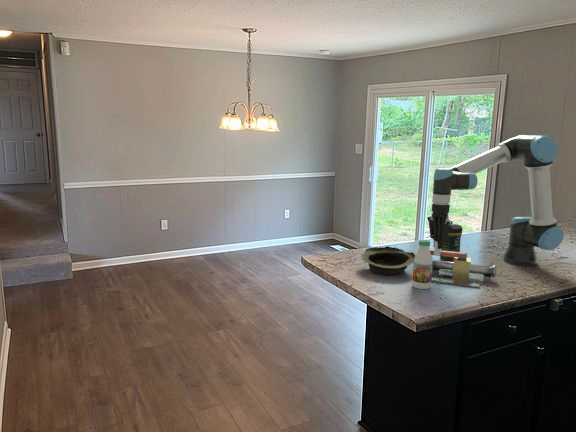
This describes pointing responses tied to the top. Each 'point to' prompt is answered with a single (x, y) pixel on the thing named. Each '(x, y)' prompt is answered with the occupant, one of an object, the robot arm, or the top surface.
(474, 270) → the pipe run
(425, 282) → the milk bottle
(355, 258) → the top surface
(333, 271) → the top surface
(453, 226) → the coffee jar
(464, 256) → the lever
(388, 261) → the stone bowl
